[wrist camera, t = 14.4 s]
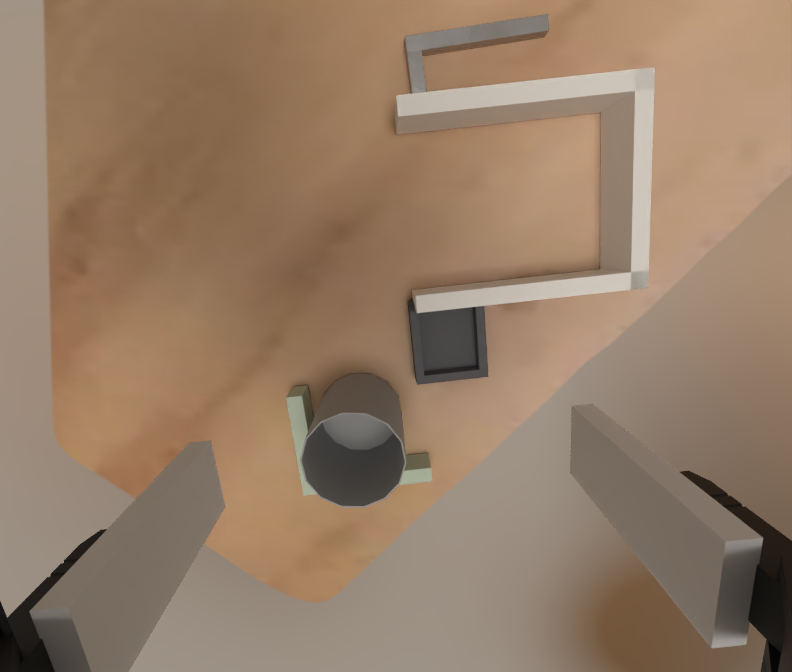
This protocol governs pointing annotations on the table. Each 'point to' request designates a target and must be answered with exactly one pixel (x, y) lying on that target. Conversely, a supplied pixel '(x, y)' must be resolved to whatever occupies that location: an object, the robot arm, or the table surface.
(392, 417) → the cup
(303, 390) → the dock
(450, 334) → the tray
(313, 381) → the table surface
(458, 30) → the crook tool
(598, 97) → the frame
